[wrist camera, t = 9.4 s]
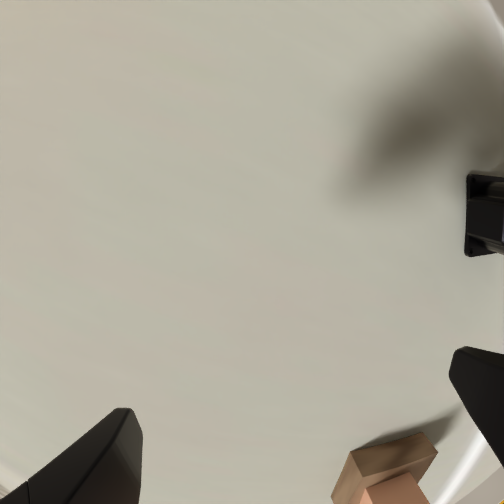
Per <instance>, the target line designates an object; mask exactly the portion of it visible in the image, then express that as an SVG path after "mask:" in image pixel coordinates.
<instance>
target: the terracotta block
mask: <svg viewBox="0 0 504 504" xmlns="http://www.w3.org/2000/svg"><path fill="white" fill-rule="evenodd" d="M360 504H430V503H429V502H428V500H427V498H426V497H425V495H424V494H423V492H422V491H421V489H420V487H419V486H418V484H417V483H416V481H415V479H414V478H413V476H412V475H411V473H410V472H408V473H405V474H403V475H400V476H398V477H395V478H393V479H390V480H388V481H385V482H382V483H379V484H377V485H374V486H371V487H368V488H365V491H364V494H363V496H362V499H361V501H360Z"/></svg>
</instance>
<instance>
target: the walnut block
mask: <svg viewBox="0 0 504 504" xmlns="http://www.w3.org/2000/svg"><path fill="white" fill-rule="evenodd" d="M437 453H438V451H437V450H436V449H435V447H434V446H433V445H432V444H431V442H430V441H429V440H428V438H427V437H426V436H425V435H424V433H423V432H421V433H418V434H415V435H412V436H409V437H406V438H402V439H399V440H396V441H392V442H388V443H385V444H381V445H377V446H373V447H369V448H364V449H360V450H355V451H351V452H350V453H349V455H348V458H347V460H346V463H345V465H344V468H343V470H342V472H341V475H340V477H339V479H338V481H337V484H336V486H335V488H334V490H333V492H332V495H331V498H332V500H333V503H334V504H360V501H361V499H362V496H363V494H364V491H365V488H368V487H371V486H374V485H377V484H379V483H382V482H385V481H388V480H390V479H393V478H395V477H398V476H400V475H403V474H405V473H408V472H410V473H411V475H412V476H413V478H414V479H415V481H416V483H417V484H418V482H419V481H420V479H421V478H422V477H423V475H424V474H425V472H426V471H427V469H428V468H429V466H430V464H431V463H432V461H433V460H434V458H435V457H436V455H437Z"/></svg>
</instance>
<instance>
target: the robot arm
mask: <svg viewBox="0 0 504 504" xmlns="http://www.w3.org/2000/svg"><path fill="white" fill-rule="evenodd" d="M466 182H467V211H466V235H465V249H464V253H465V255H466V256H468V257H475V256H481V255H487V254H493V253H500V254H503V255H504V178H501V177H493V176H484V175H474V174H469V175H468V176H467V180H466ZM469 251H470V252H469ZM449 379H450V381H451V383H452V384H453V386H454V388H455V390H456V391H457V393H458V395H459V397H460V398H461V400H462V402H463V404H464V406H465V408H466V409H467V411H468V413H469V415H470V416H471V418H472V419H473V421H474V422H475V424H476V425H477V427H478V428H479V430H480V431H481V433H482V434H483V436H484V437H485V439H486V440H487V442H488V443H489V445H490V447H491V448H492V450H493V451H494V453H495V455H496V456H497V458H498V459H499V461H500V463H501V464H502V466H503V467H504V354H499V353H495V352H490V351H486V350H482V349H477V348H473V347H468V346H464V347H462V348H459V349H457V350H456V351H455V352H454V354H453V358H452V362H451V366H450V369H449ZM142 445H143V434H142V430H141V427H140V425H139V423H138V420H137V418H136V416H135V413H134V411H133V410H132V409H131V408H116V409H114V410H113V411H112V412H111V413H110V414H108V415H107V416H106V417H105V418H104V419H102V420H101V421H100V422H99V423H98V424H96V425H95V426H94V427H93V428H92V429H90V430H89V431H88V432H87V433H85V434H84V435H83V436H82V437H81V438H79V439H78V440H77V441H76V442H74V443H73V444H72V445H71V446H70V447H68V448H67V449H66V450H65V451H63V452H62V453H61V454H60V455H58V456H57V457H56V458H55V459H53V460H52V461H51V462H50V463H48V464H47V465H46V466H45V467H43V468H42V469H41V470H40V471H38V472H37V473H36V474H34V475H33V476H32V477H31V478H29V479H28V482H27V481H25V482H24V483H23V484H21V485H20V486H19V487H17V488H16V489H15V490H13V491H12V492H11V493H9V494H8V495H6V496H5V497H4V498H2V499H0V504H138V503H139V496H140V489H141V469H142Z"/></svg>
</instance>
